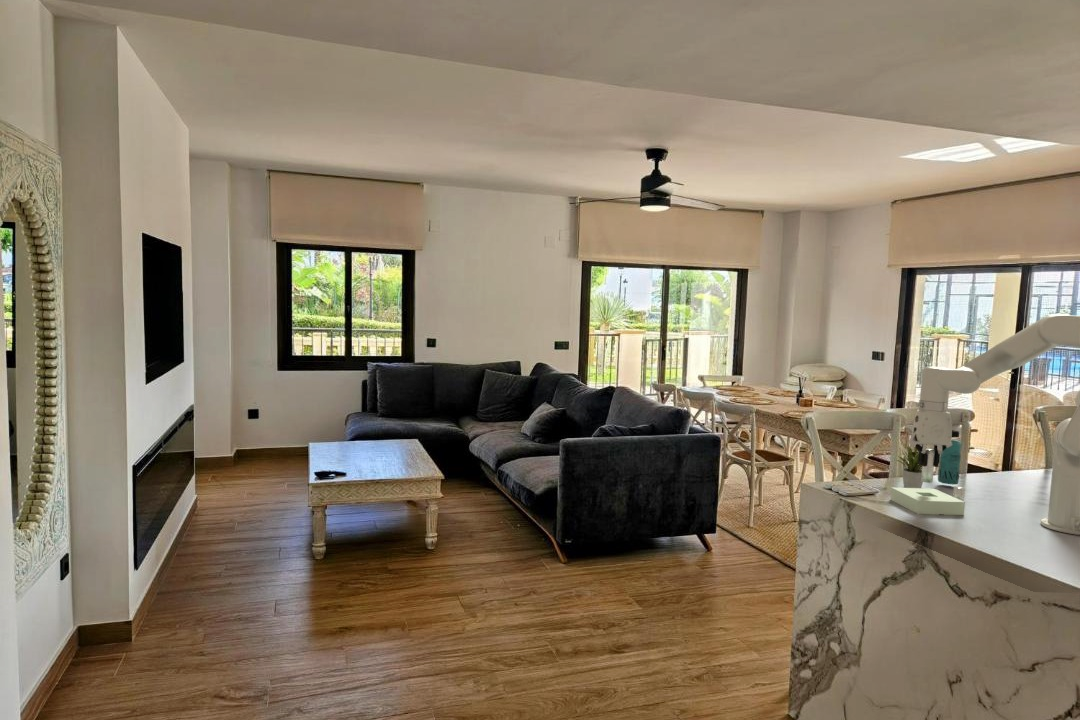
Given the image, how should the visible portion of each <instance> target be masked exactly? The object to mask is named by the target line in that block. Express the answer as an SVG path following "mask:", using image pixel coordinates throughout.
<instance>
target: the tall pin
mask: <svg viewBox="0 0 1080 720" xmlns="http://www.w3.org/2000/svg"><path fill="white" fill-rule="evenodd" d="M926 454H927V466H922V467H921V468H922V469H921V470H922V478H921V481H922V482H923V483H928V484H931V483H933V482H934V481H933V480H934V469H935V468H934V467H935V466H934V459H935V450H933V449H932V448H927V449H926Z"/></svg>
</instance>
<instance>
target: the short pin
mask: <svg viewBox="0 0 1080 720" xmlns="http://www.w3.org/2000/svg"><path fill="white" fill-rule="evenodd" d="M965 490H966V487H964V486H963V487H962V486H955V485H954V486H953V491H952V497H954V498H957V499H959V500H961V501H964V502H965V492H966V491H965Z"/></svg>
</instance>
